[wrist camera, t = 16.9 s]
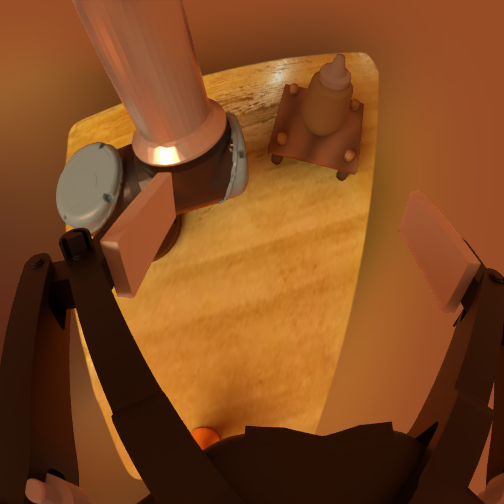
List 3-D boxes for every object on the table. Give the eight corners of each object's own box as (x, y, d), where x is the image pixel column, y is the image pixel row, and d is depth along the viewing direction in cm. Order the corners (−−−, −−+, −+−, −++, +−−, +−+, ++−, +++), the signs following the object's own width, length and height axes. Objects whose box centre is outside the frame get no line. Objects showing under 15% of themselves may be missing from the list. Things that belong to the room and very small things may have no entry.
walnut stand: (267, 164, 56) (268, 143, 47) (283, 102, 58) (286, 77, 50) (347, 184, 55) (360, 166, 46) (355, 120, 57) (366, 98, 49)
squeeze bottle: (313, 148, 49) (334, 82, 31) (290, 114, 50) (300, 45, 33) (349, 133, 50) (380, 70, 32) (326, 102, 51) (346, 35, 33)
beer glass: (216, 422, 48) (201, 460, 34) (228, 451, 47) (218, 493, 32) (182, 428, 48) (158, 464, 33) (194, 456, 47) (176, 497, 32)
